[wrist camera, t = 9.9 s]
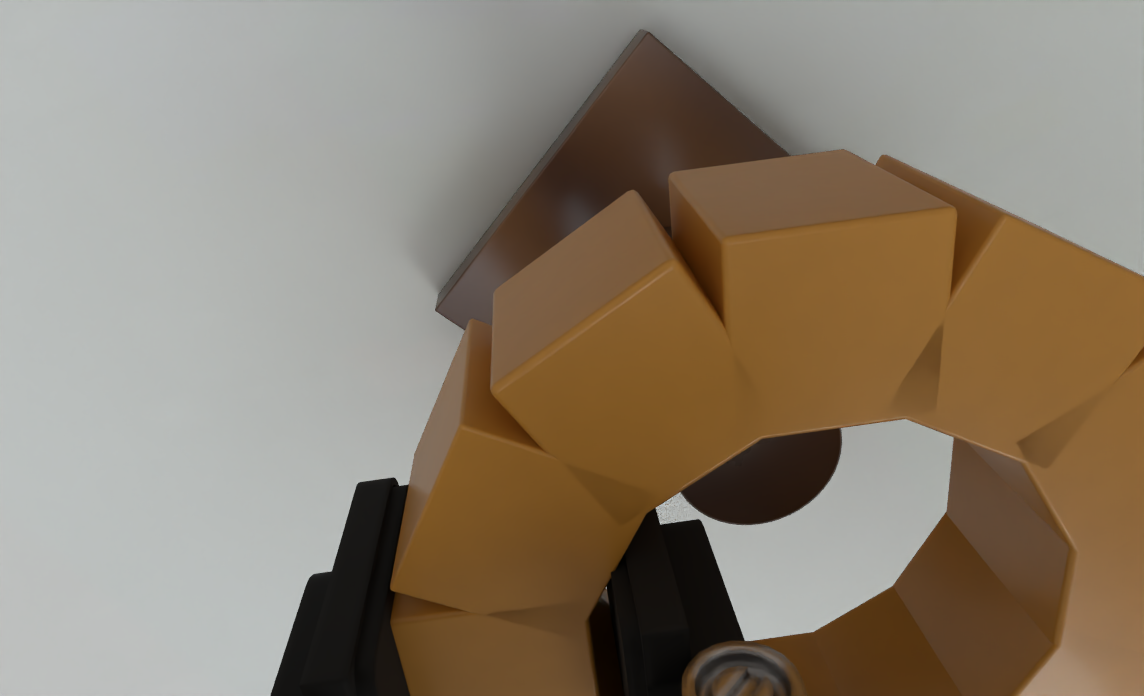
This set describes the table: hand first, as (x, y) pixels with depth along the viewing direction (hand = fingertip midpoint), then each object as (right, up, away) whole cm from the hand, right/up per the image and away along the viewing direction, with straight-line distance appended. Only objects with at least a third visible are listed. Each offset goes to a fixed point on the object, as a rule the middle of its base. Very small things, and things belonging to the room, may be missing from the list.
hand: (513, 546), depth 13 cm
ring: (+4, +1, 0) cm, 4 cm away
